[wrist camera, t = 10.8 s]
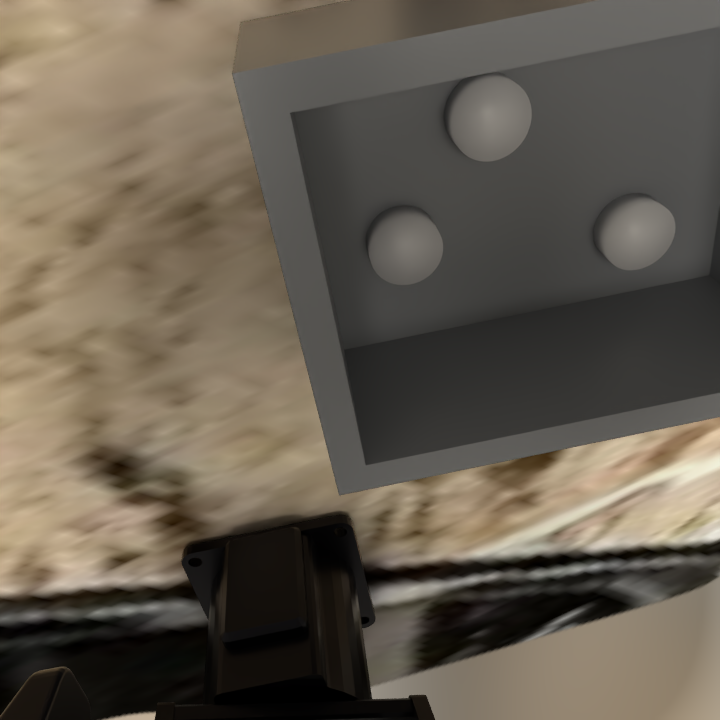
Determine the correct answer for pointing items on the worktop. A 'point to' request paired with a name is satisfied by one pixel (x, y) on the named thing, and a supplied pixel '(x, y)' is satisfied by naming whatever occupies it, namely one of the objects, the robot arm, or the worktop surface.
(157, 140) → the worktop surface
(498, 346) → the tub
